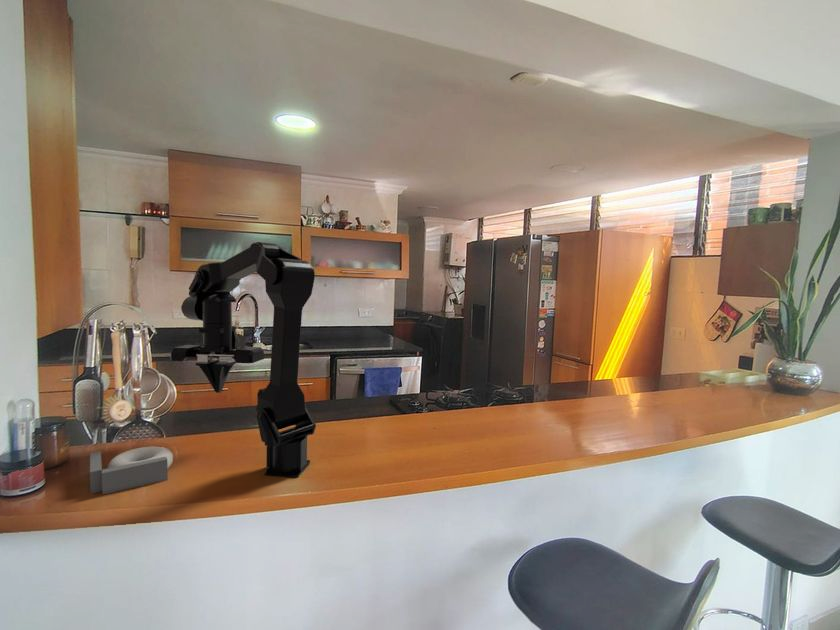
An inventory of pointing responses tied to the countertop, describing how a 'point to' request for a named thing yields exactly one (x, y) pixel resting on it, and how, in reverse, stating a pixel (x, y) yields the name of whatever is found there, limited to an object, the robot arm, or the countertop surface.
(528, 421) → the countertop surface
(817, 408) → the countertop surface
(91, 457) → the grey l-shaped bracket
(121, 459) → the donut
